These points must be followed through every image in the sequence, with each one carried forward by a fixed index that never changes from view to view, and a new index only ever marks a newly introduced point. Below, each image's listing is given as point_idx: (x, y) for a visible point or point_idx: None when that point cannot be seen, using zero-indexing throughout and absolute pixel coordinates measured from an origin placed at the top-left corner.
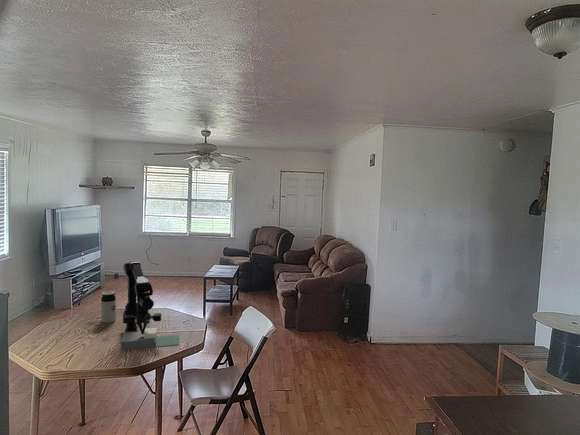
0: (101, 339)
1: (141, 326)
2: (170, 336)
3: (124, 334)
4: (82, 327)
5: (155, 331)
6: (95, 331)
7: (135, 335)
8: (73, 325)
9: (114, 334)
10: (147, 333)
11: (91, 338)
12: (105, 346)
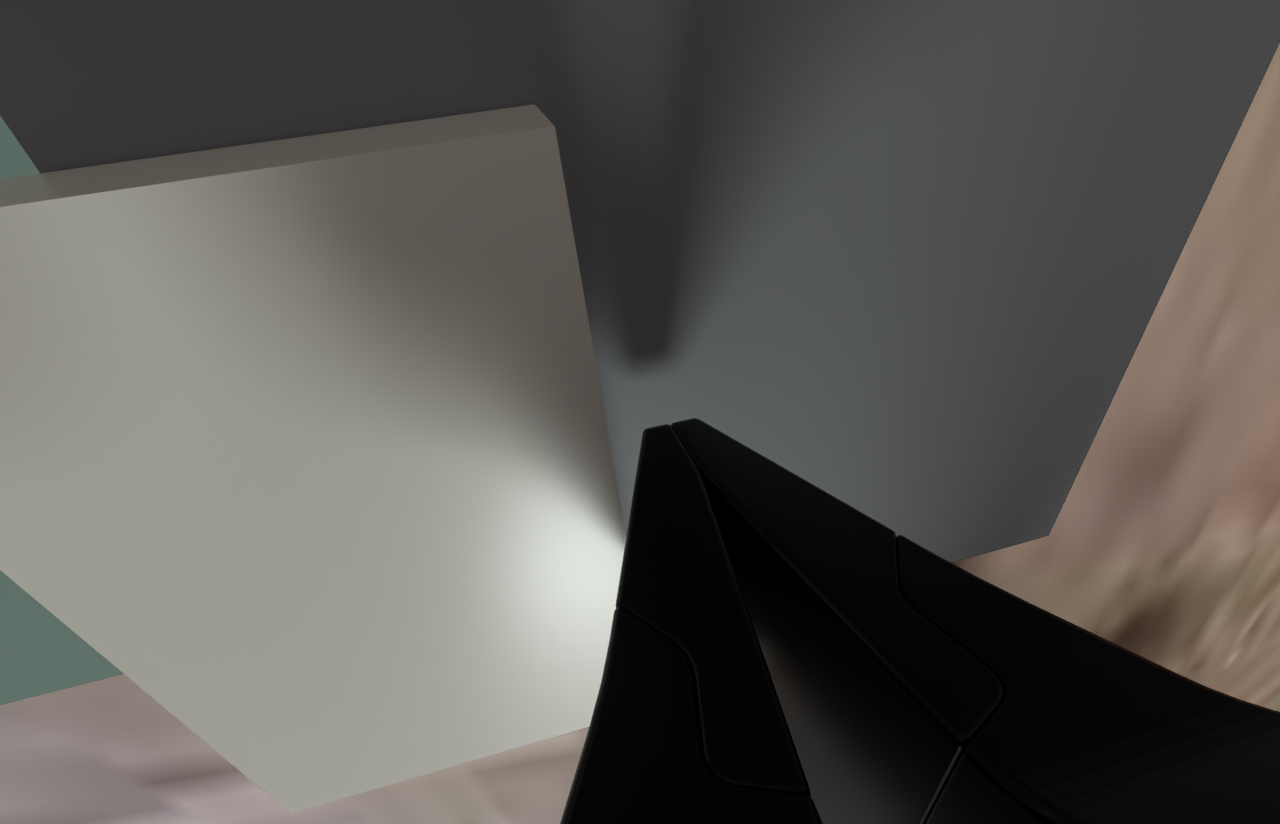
0: (1192, 459)
1: (912, 676)
2: (83, 641)
3: (1062, 475)
4: (1209, 671)
5: (51, 557)
6: (1157, 628)
7: (848, 433)
8: (1244, 685)
9: (1018, 596)
10: (381, 280)
11: (1267, 479)
12: (1264, 186)
